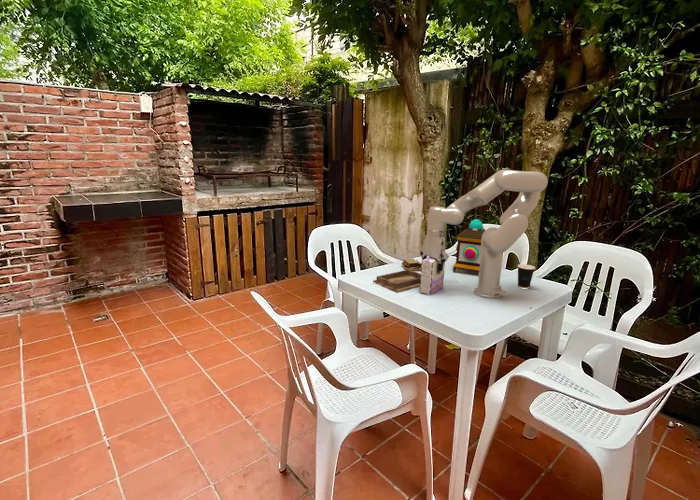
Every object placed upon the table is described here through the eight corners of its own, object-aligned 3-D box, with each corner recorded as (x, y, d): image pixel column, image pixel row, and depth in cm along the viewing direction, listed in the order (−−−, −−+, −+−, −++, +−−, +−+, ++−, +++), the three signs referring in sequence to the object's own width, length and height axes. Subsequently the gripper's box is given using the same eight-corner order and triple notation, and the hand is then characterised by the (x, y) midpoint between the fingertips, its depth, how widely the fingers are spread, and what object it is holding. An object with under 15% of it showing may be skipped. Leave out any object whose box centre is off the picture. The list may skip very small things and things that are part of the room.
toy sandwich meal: (409, 272, 207) (410, 264, 206) (398, 266, 219) (398, 258, 218) (428, 270, 211) (429, 262, 210) (416, 264, 224) (417, 257, 222)
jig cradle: (431, 283, 189) (432, 276, 188) (397, 292, 175) (397, 285, 174) (406, 274, 203) (406, 268, 202) (372, 282, 189) (373, 275, 188)
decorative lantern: (486, 278, 198) (492, 223, 191) (449, 272, 207) (454, 219, 200) (492, 269, 215) (498, 218, 208) (458, 264, 224) (463, 215, 217)
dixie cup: (525, 284, 190) (528, 263, 187) (535, 289, 182) (538, 268, 179) (511, 285, 188) (514, 264, 185) (521, 290, 180) (524, 269, 178)
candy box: (432, 285, 186) (434, 254, 182) (443, 288, 182) (446, 256, 178) (419, 292, 175) (421, 259, 171) (430, 295, 172) (432, 261, 168)
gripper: (455, 236, 167) (451, 272, 172) (426, 229, 181) (423, 263, 185) (444, 237, 163) (440, 274, 167) (416, 230, 176) (413, 265, 181)
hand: (431, 268), depth 176 cm, fingers open, 9 cm apart
